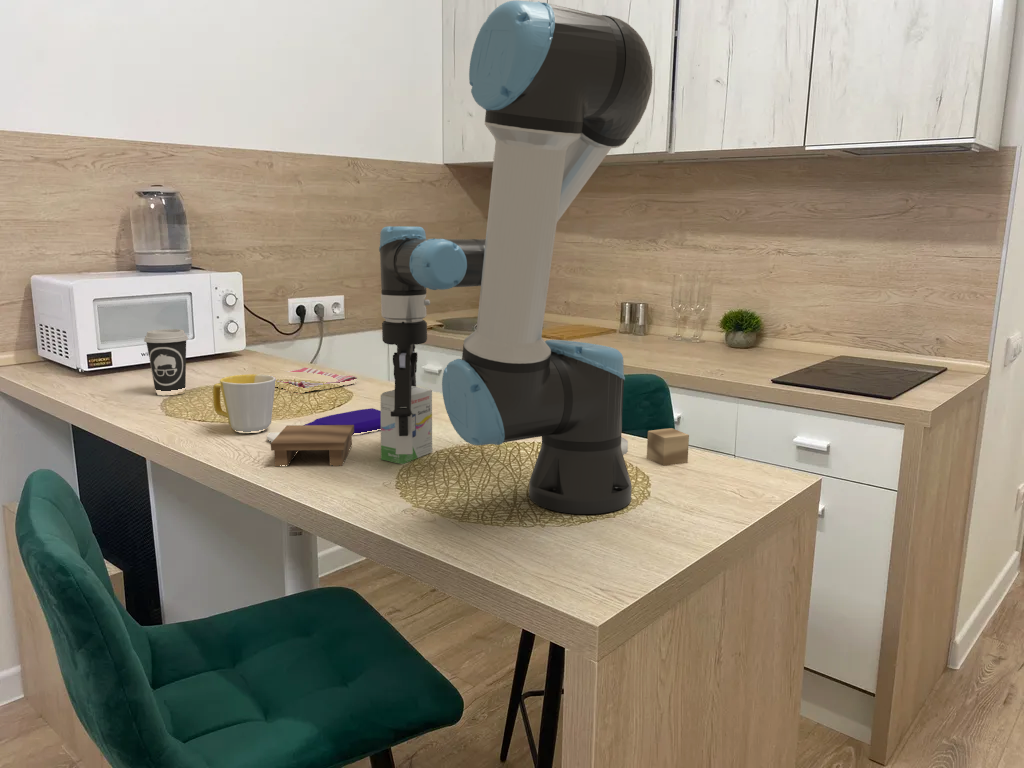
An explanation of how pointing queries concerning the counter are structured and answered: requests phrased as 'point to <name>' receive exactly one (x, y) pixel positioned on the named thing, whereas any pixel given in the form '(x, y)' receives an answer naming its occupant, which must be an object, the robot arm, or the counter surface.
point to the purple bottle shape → (348, 421)
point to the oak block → (667, 446)
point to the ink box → (420, 425)
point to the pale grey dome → (624, 445)
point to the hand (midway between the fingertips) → (406, 443)
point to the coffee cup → (167, 358)
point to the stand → (313, 442)
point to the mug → (246, 401)
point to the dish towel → (310, 370)
